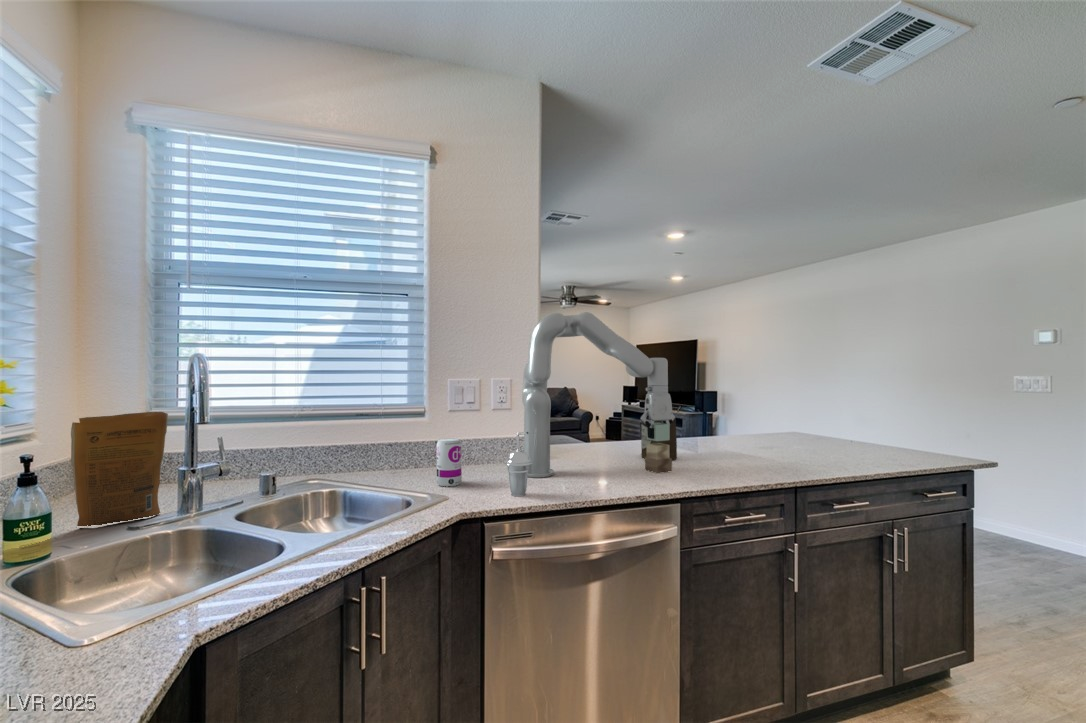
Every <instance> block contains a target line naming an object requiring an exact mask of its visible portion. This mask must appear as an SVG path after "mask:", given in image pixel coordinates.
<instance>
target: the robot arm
mask: <svg viewBox="0 0 1086 723" xmlns="http://www.w3.org/2000/svg"><path fill="white" fill-rule="evenodd" d="M571 337H584V338H585V339H586V340H588V342H591V344H593V345H594V346H595V347H596V348H597V349H598V350H599V351H601V352H602V353H604V354H606V355H608V356H610V357H612V358H614V359H617V360H618V361H620V362H621V363H623V364H624V365H625V372H626V373H627V374H628V375H630V376H631V377H634V378H647V387H645V391H646V392H647V393H646V394H645V399H644V400H645V401H644V413H643V414H642V415H641V416H642V417H641V416H640V419H639V420H640V421H642V422H643V423H644V424H645V425H646V427H647V435H648V438H651V439H654V428H653V425H654V422H655V421H662V423H665V424H669V426H670V424H671V423H672V421H673V420H674V418H675V416H676V415H675V414H674V413H673V405H672V403H673V402H672V397H671V394H670V393H669V386H668V385H669V376H668V375H669V373H668V371H669V370H668V369H669V368H668V367H669V364H668V363H669V362H668V359H667V358H665V357H648V356H647V355H646V354H645V353H644V352H642V351H641V350H640V349H639V348H638V347H636V346H635V345H633V344H632V343H630V342H629V341H628V340H626V339H624V337H622V336H620V335H619V334H617V333H616V332H615V331H614V330H613V329H611V328H610V327H609V326H607V325H606V324H605V323H604V322H603V321H602V320H600V319H599V318H598V317H597V316H596V315H595V314H593V313H592V312H590V311H589V312H588V311H583V312H581V313H579V314H573V315H572V314H571V315H564V314H563V313H561V312H553V313H550V314H547V315H545V316H544V317H543V318H542V319H540V320H539V321H538V322H537V323H536V325H535V326H534V327H533V329H532V331H531V334H530V337H529V344H528V346H529V347H528V351H527V352H528V355H527V363H526V364H525V366H524V368H523V374H522V376H523V377H522V392H521V393H522V395H521V396H522V398H521V399H522V401H521V402H522V404H523V407H524V409H523V410H524V411H523V412H524V414H523V416H524V417H523V432H528V434H523V436H524V437H523V438H524V440H523V441H524V442H523V447H524V448H523V449H524V450H523V451H525V452H526V453H527V454H528V456H529V459H530V460H532V464H530V467H529V472H528V478H548V477H552V476H554V475H555V470H554V469H553V468H551V409H552V401H551V397H550V395H549V393H548V392H547V391H548V381H549V379H550V377H551V374H552V352H553V344H554V341H555V339H557V338H571ZM646 419H647V420H646ZM642 422H641V423H642ZM650 422H651V423H650Z"/></svg>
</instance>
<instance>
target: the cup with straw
mask: <svg viewBox="0 0 1086 723" xmlns="http://www.w3.org/2000/svg"><path fill="white" fill-rule="evenodd" d="M524 434H528V432H524V431H523V432H522V431H521V432H517V433H516V449H515V450H514V449H513V450H512V451H511V452H510V453H509V454H508V455H507V458H506V459H505V460H504V465H506V466H507V468H506V469H507V473H508V478H509V487H510V493H511V494H510V496H512V497H524V496H527V495H526V494H527V493H526V492H527V488H528V487H527V486H528V478H529V477H528V472H529V467H530V464H532V460H530V459H529V456H528V454H527V453H526V452H525V451H524V450H522V449H520V435H521V436H522V435H523V436H524Z"/></svg>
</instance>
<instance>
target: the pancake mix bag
mask: <svg viewBox="0 0 1086 723" xmlns="http://www.w3.org/2000/svg"><path fill="white" fill-rule="evenodd" d="M168 416H169V413H167V412H164V411H145V412H134V413H133V412H131V413H123V414H122V413H121V414H115V415H102V416H100V415H99V416H86V417H79V418H78V420H79V422H73V421H72V423H71V427H70V439H71V442H70V448H71V449H70V455H71V456H70V464H71V466H72V471H71V473H72V479H73V485H74V493H75V504H76V508H77V514H78V521H77V524H76V527H77V526H87V525H88V526H91V525H102V524H107V523H113V522H120V521H128V520H133V519H138V518H143V517H149V516H153V515H156V514H159V513H161V510H160V505H159V500H158V498H159V496H158V495H159V489H160V484H161V467H162V462H163V460H164V455H165V454H164V453H165V444H166V443H165V442H166V434H167V431H168V418H169V417H168ZM159 515H160V514H159Z"/></svg>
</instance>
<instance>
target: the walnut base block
mask: <svg viewBox="0 0 1086 723" xmlns="http://www.w3.org/2000/svg"><path fill="white" fill-rule="evenodd" d="M672 462H673V460H672V458H668V459H659V460H656V459H652V458H648V457H645V459H644V470H645V469H646V470H645V471H648V470H649V471H648V472H651V471H653V472H652V473H654V472H656V473H655V474H661V473H660V472H664V473H669V472H668V471H673V463H672Z"/></svg>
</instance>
